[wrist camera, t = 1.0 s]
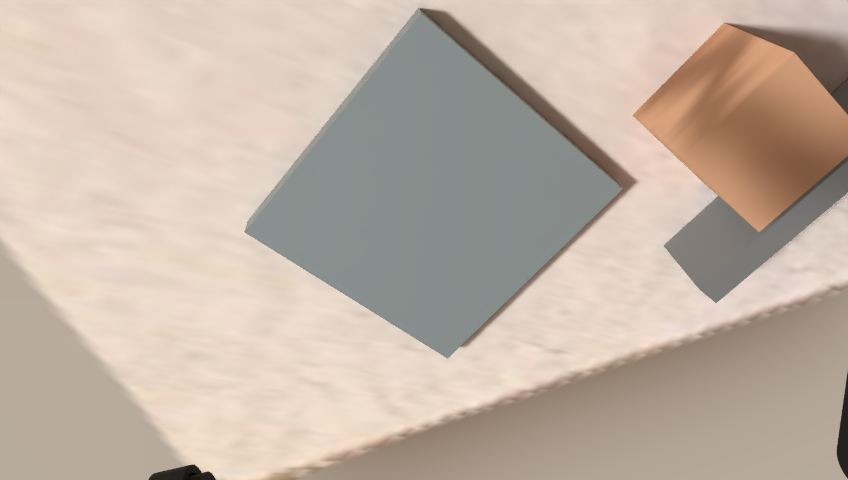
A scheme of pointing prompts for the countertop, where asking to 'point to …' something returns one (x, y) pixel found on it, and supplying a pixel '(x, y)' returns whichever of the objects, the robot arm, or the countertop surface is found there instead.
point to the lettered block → (749, 123)
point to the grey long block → (750, 231)
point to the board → (432, 191)
